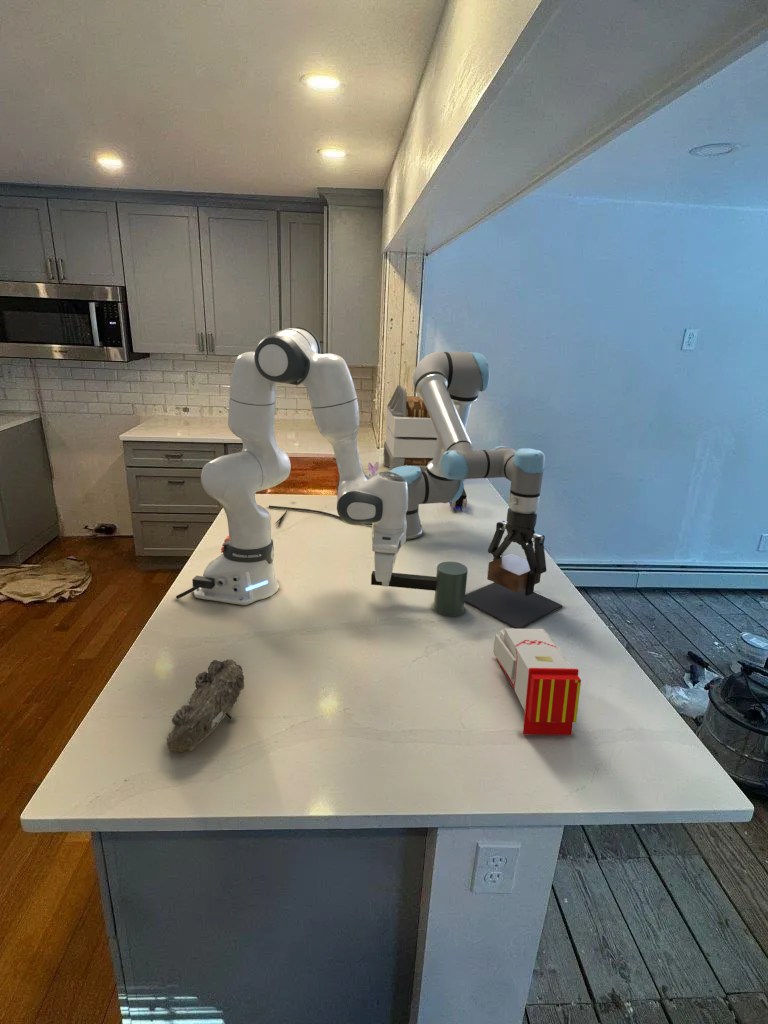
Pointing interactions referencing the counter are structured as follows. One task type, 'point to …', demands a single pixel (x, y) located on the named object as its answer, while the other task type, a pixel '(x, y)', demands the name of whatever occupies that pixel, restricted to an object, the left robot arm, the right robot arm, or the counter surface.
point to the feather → (281, 519)
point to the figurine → (372, 470)
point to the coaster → (511, 605)
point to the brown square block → (510, 572)
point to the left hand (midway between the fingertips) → (386, 582)
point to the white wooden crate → (408, 432)
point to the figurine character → (460, 502)
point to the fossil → (206, 705)
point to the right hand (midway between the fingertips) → (512, 586)
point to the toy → (539, 680)
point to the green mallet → (437, 586)
